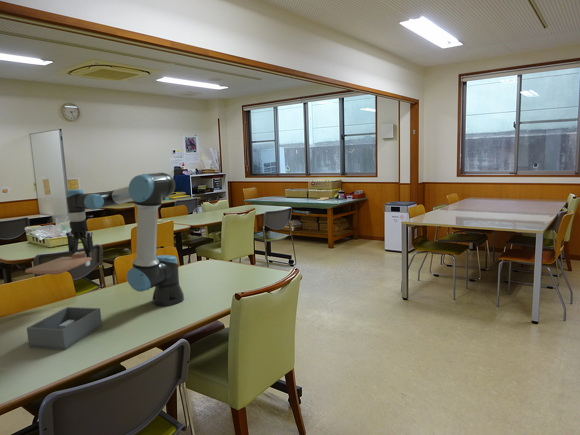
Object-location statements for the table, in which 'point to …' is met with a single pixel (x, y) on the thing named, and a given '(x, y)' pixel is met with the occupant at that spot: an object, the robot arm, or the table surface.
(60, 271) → the lid
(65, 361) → the table surface
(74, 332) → the tub
